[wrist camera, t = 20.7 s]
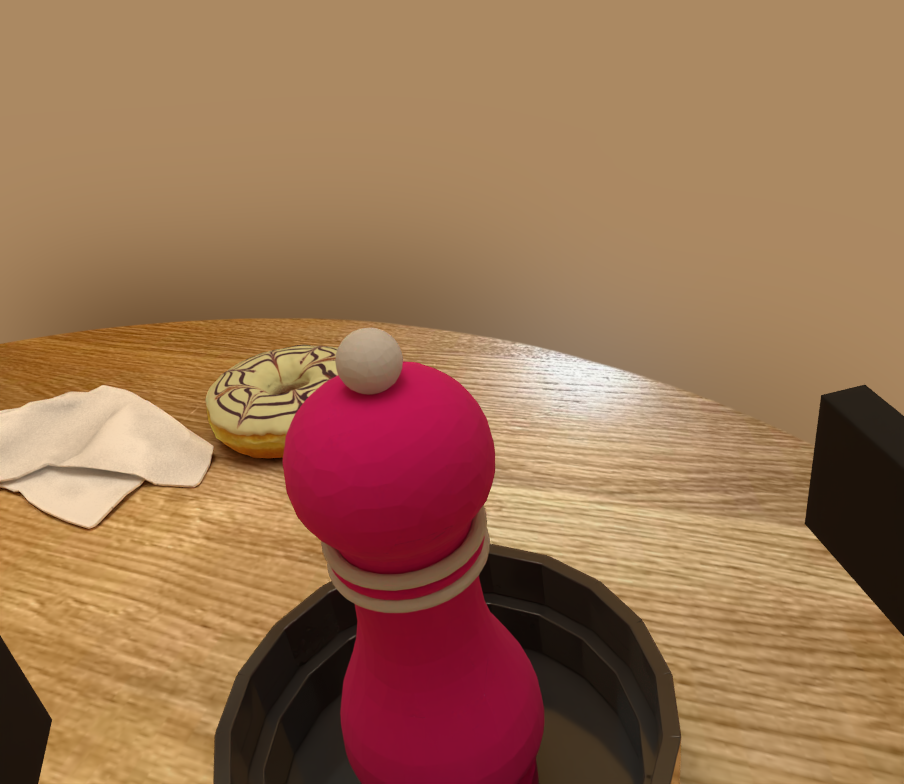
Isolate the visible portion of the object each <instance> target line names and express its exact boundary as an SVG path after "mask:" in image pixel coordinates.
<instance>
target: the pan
mask: <svg viewBox="0 0 904 784" xmlns="http://www.w3.org/2000/svg"><path fill="white" fill-rule="evenodd" d="M479 580H480V584H481V588H482V592H483V596H484V600H485V602H486V604H487V606H488V608H489V610H490V612H491V613H492V614H493V615H494V616H495V617H496V618H497V619H498V620H499V621H500V622H501V623H502V624H503V625H504V626H505V627H506V628H507V629H508V631H509V632H510V633H511V634H512V635H513V636H514V638H515V639H516V640H517V641H518V642H519V644H520V645H521V647H522V649H523V650H524V652H525V653H526V655H527V657H528V658H529V660H530V662H531V664H532V666H533V669H534V671H535V673H536V676H537V679H538V683H539V687H540V691H541V695H542V700H543V706H544V732H543V736H542V740H541V744H540V748H539V751H538V753H537V755H536V762H537V769H538V784H680V761H681V732H680V725H679V718H678V711H677V704H676V697H675V690H674V683H673V676H672V674H671V671H670V669H669V668H668V666H667V664H666V662H665V660H664V659H663V657H662V655H661V653H660V651H659V649H658V648H657V646H656V644H655V642H654V640H653V638H652V637H651V635H650V633H649V631H648V629H647V627H646V626H645V624H644V622H643V621H642V619H641V618H640V617H639V616H637V615H636V614H635V613H634V612H633V611H632V610H631V609H630V608H629V607H628V606H627V605H625V604H624V603H623V602H622V601H621V600H620V599H619V598H618V597H617V596H616V595H615V594H614V593H612V592H611V591H610V590H609V589H608V588H607V587H606V586H605V585H604V584H603V583H602V582H600V581H598V580H597V579H595V578H593V577H591V576H589V575H586V574H584V573H582V572H580V571H578V570H576V569H574V568H572V567H570V566H568V565H566V564H564V563H562V562H560V561H558V560H556V559H554V558H552V557H550V556H547V555H543V554H538V553H533V552H528V551H524V550H519V549H514V548H509V547H504V546H499V545H495V544H492V545H491V544H490V547H489V553H488V558H487V561H486V563H485V565H484V567H483V569H482V571H481V572H480V574H479ZM357 622H358V621H357V615H356V609H355V604H354V603H352V602H351V601H349V600H348V599H346V598H345V597H344V596H343V595H342V594H341V593H340V592H339V591H338V590H337V589H336V587H335V586H334V585H333V583H332V581H331V582H329V583H327V584H325V585H323V586H322V587H320V588H319V589H317V590H316V591H315V592H314V593H312V594H311V595H310V596H309V597H308V598H306V599H305V600H304V601H303V602H301V603H300V604H299V605H298V606H296V607H295V608H294V609H293V610H292V611H290V612H289V613H288V614H287V615H285V616H284V617H283V618H282V619H280V620H279V621H278V622H277V623H276V624H275V625H274V626H273V627H272V628H271V630H270V631H269V632H268V634H267V635H266V636H265V638H264V639H263V640H262V642H261V643H260V644H259V646H258V647H257V648H256V650H255V651H254V652H253V654H252V655H251V656H250V658H249V659H248V660H247V662H246V663H245V664H244V666H243V667H242V668H241V670H240V671H239V672H238V675H237V676H236V679H235V681H234V684H233V687H232V689H231V692H230V695H229V697H228V700H227V703H226V705H225V708H224V711H223V713H222V716H221V719H220V721H219V724H218V727H217V729H216V732H215V741H214V780H213V784H362V783H361V782H360V780H359V779H358V777H357V776H356V774H355V772H354V770H353V769H352V767H351V765H350V763H349V760H348V757H347V754H346V750H345V744H344V739H343V733H342V728H341V715H340V710H341V700H342V690H343V682H344V677H345V674H346V671H347V668H348V665H349V662H350V659H351V656H352V653H353V649H354V645H355V641H356V635H357Z"/></svg>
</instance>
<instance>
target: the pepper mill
mask: <svg viewBox="0 0 904 784" xmlns="http://www.w3.org/2000/svg"><path fill="white" fill-rule="evenodd" d="M335 363H336V370H337V372H338V376H336V377H334V378H332V379H330V380H328V381H327V382H325V383H324V384H322V385H321V386H320V387H319V388H318V389H317V390H316V391H314V392H313V393H312V394H311V395H310V396H309V397H308V398H307V399H306V400H305V402H304V403H303V404H302V406H301V407H300V408H299V410H298V411H297V412H296V414H295V416H294V418H293V420H292V422H291V424H290V426H289V429H288V432H287V434H286V439H285V446H284V454H283V469H284V476H285V483H286V490H287V494H288V496H289V499H290V501H291V503H292V505H293V508H294V510H295V512H296V515H297V517H298V518H299V519H300V520H301V522H302V523H303V524H304V525H305V527H306V528H307V529H308V530H309V531H311V532H312V533H313V534H314V535H315V536H316V537H318V538H319V539H320V540H321V545H322V551H323V554H324V557H325V559H326V561H327V567H328V573H329V576H330V578H331V581H332V583H333V585H334V586H335V587H336V589H337V590H338V591H339V592H340V593H341V594H342V595H343V596H344V597H345V598H346V599H348V600H349V601H351V602H352V603H354V604H355V609H356V615H357V621H358V622H357V635H356V641H355V645H354V649H353V653H352V656H351V659H350V662H349V665H348V668H347V671H346V674H345V677H344V682H343V690H342V700H341V710H340V715H341V728H342V733H343V739H344V744H345V750H346V754H347V757H348V760H349V763H350V765H351V767H352V769H353V770H354V772H355V774H356V776H357V777H358V779H359V780H360V782H361V783H362V784H538V769H537V762H536V755H537V753H538V751H539V748H540V744H541V740H542V736H543V732H544V706H543V700H542V695H541V691H540V687H539V683H538V679H537V676H536V673H535V671H534V669H533V666H532V664H531V662H530V660H529V658H528V657H527V655H526V653H525V652H524V650H523V649H522V647H521V645H520V644H519V642H518V641H517V640H516V639H515V638H514V636H513V635H512V634H511V633H510V632H509V631H508V629H507V628H506V627H505V626H504V625H503V624H502V623H501V622H500V621H499V620H498V619H497V618H496V617H495V616H494V615H493V614H492V613H491V612H490V610H489V608H488V606H487V604H486V602H485V600H484V596H483V592H482V588H481V584H480V580H479V574H480V572H481V571H482V569H483V567H484V565H485V563H486V561H487V558H488V553H489V547H490V538H489V534H488V530H487V527H486V526H487V518H486V512H485V508H484V506H483V505H484V503H485V502H486V501H487V498H488V495H489V492H490V489H491V486H492V483H493V478H494V474H495V449H494V442H493V438H492V435H491V432H490V428H489V425H488V421H487V418H486V417H485V415H484V413H483V411H482V410H481V408H480V406H479V404H478V403H477V401H476V400H475V399H474V398H473V397H472V395H471V394H470V393H469V392H468V391H467V390H466V389H465V388H464V387H463V386H462V385H461V384H460V383H459V382H458V381H456V380H455V379H453V378H452V377H450V376H449V375H447V374H445V373H443V372H441V371H439V370H437V369H434V368H431V367H428V366H425V365H422V364H419V363H415V362H403V357H402V352H401V350H400V347H399V345H398V343H397V342H396V340H395V339H394V338H393V337H392V336H391V335H389V334H388V333H386V332H385V331H382V330H380V329H376V328H363V329H359V330H356V331H353V332H351V333H350V334H349V335H348V336H346V337H345V338H344V340H343V341H342V343H341V344H340V346H339V347H338V349H337V352H336V360H335Z"/></svg>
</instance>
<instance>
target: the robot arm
mask: <svg viewBox="0 0 904 784" xmlns="http://www.w3.org/2000/svg"><path fill="white" fill-rule="evenodd" d="M805 525H806V526H807V527H808V528H809V529H810V530H811V531H812V532H813V534H814V535H815V536H816V537H817V538H818V539H819V540H820V542H821V543H822V544H823V545H824V546H825V547H826V548H827V550H828V551H829V552H830V553H831V554H832V555H833V556H834V558H835V559H836V560H837V561H838V562H839V563H840V564H841V565H842V567H843V568H844V569H845V570H846V571H847V572H848V573H849V575H850V576H851V577H852V578H853V579H854V580H855V581H856V583H857V584H858V585H859V586H860V587H861V588H862V589H863V591H864V592H865V593H866V594H867V595H868V596H869V597H870V598H871V600H872V601H873V602H874V603H875V604H876V605H877V606H878V608H879V609H880V610H881V611H882V612H883V613H884V614H885V616H886V617H887V618H888V619H889V620H890V621H891V622H892V624H893V625H894V626H895V627H896V628H897V629H898V630H899V631H900V633H901V634H902V635H903V636H904V416H903V415H901V413H899V412H898V411H897V410H896V409H894V408H893V407H892V406H891V405H889V404H888V403H887V402H886V401H884V400H883V399H882V398H881V397H879V396H878V395H877V394H876V393H875V392H873V391H872V390H871V389H870V388H868V387H867V386H866V385H862V386H857V387H854V388H849V389H845V390H841V391H837V392H833V393H829V394H824V395H821V402H820V409H819V417H818V425H817V433H816V441H815V448H814V456H813V464H812V472H811V479H810V487H809V495H808V503H807V511H806V518H805ZM51 722H52V719H51V717H50V716H49V714H48V712H47V711H46V709H45V707H44V706H43V704H42V703H41V701H40V699H39V698H38V696H37V694H36V693H35V691H34V690H33V688H32V686H31V685H30V683H29V682H28V680H27V678H26V677H25V675H24V673H23V672H22V670H21V669H20V667H19V665H18V664H17V662H16V660H15V659H14V657H13V656H12V654H11V652H10V651H9V649H8V647H7V646H6V644H5V643H4V641H3V639H2V638H1V636H0V784H38V782H39V777H40V773H41V768H42V764H43V759H44V754H45V750H46V745H47V741H48V736H49V731H50V727H51Z"/></svg>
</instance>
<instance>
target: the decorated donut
mask: <svg viewBox="0 0 904 784" xmlns="http://www.w3.org/2000/svg"><path fill="white" fill-rule="evenodd" d="M337 349H338V348H335V347H328V346H311V345H297V346H292V347H288V348H283V349H278V350H272V351H269V352H265V353H261V354H258V355H256V356H254V357H251V358H249V359H246V360H245V361H242V362H240V363H238V364H237V365H235V366H234V367H232V368H230V369H229V370H228V371H226V372H225V373H223V374H222V375H221V376H220V377H219V378H218V379H217V380H216V382H215V383H214V384H213V385H212V386H211V387H210V389H209V390H208V393H207V396H206V405H207V415H208V421H209V424H210V426H211V429H212V431H213V432H214V435H215V437H216V438H217V439H218V440H220V441H222V443H223V444H225V445H226V446H228V447H230V448H232V449H233V450H235V451H236V452H239V453H241V454H245V455H249V456H251V457H252V458H283V454H284V446H285V439H286V434H287V432H288V429H289V426H290V424H291V422H292V420H293V418H294V416H295V414H296V412H297V411H298V410H299V408H300V407H301V406H302V404H303V403H304V402H305V400H306V399H307V398H308V397H309V396H310V395H311V394H312V393H313V392H314V391H316V390H317V389H318V388H319V387H320V386H321V385H322V384H324V383H325V382H327V381H328V380H330V379H332V378H334V377H336V376H338V372H337V370H336V363H335V360H336V352H337Z"/></svg>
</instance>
